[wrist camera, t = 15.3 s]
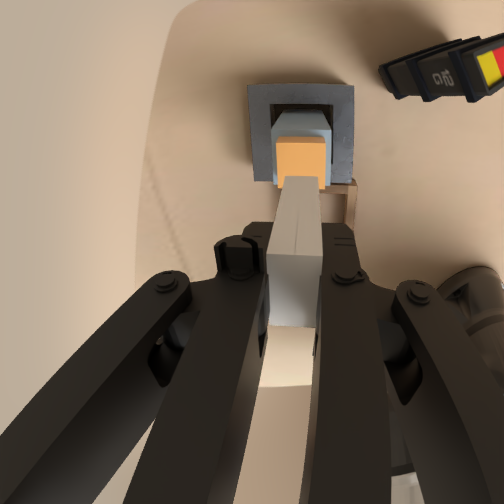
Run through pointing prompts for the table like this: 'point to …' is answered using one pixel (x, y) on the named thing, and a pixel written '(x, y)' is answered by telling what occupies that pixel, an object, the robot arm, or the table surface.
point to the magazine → (449, 70)
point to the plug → (301, 146)
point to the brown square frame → (350, 199)
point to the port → (302, 93)
